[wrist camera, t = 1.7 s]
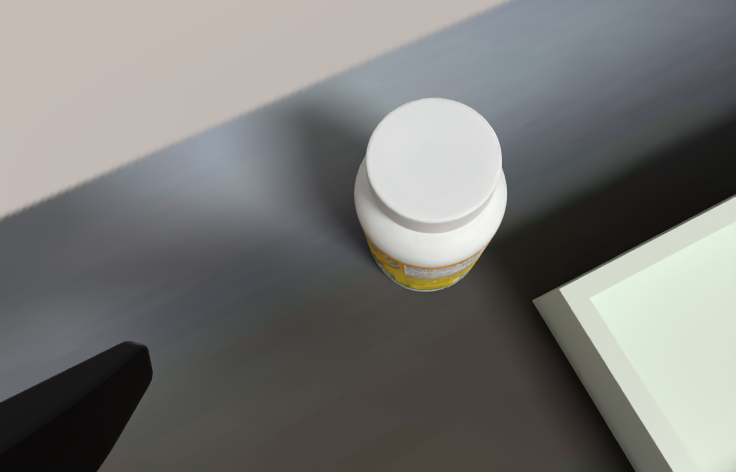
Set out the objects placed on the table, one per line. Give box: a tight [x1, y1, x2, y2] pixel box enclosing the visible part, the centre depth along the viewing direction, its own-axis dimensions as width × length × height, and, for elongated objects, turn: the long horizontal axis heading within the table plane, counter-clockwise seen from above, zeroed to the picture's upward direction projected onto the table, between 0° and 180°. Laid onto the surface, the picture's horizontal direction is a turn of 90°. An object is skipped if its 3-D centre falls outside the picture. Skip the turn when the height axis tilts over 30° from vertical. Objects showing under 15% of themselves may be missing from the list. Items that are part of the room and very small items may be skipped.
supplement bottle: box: [354, 98, 507, 291], centre depth 18 cm, size 5×5×10 cm
